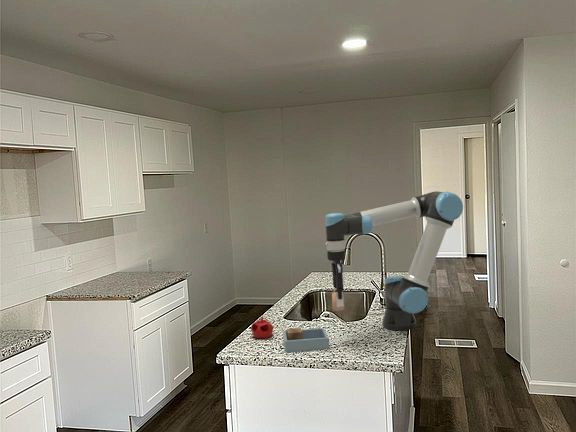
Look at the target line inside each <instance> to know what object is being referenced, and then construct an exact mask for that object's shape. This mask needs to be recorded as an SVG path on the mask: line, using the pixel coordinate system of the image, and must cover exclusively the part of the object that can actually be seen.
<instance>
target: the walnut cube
mask: <svg viewBox="0 0 576 432" xmlns="http://www.w3.org/2000/svg"><path fill="white" fill-rule="evenodd" d="M302 330H303V329H302V328H301V327H294V328H287V329H286V331H287V340H300V339H303V332H302Z"/></svg>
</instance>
